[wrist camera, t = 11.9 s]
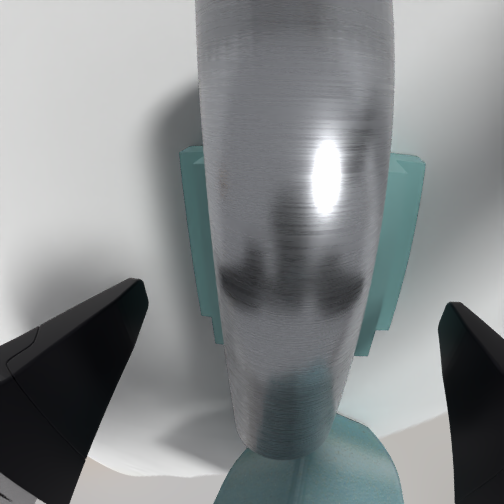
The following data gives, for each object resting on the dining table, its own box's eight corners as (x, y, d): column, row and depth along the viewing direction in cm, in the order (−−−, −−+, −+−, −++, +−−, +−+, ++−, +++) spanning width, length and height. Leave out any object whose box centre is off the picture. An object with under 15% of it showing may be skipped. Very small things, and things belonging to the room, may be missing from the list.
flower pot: (227, 424, 20) (194, 536, 13) (308, 372, 16) (286, 537, 8) (320, 460, 22) (307, 557, 14) (407, 420, 17) (412, 543, 10)
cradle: (417, 156, 10) (441, 177, 8) (385, 315, 13) (393, 356, 11) (189, 146, 11) (159, 164, 9) (207, 301, 15) (190, 339, 12)
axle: (364, 20, 6) (425, -15, 3) (327, 381, 14) (334, 458, 10) (214, 17, 7) (168, -24, 3) (240, 380, 14) (230, 458, 10)
